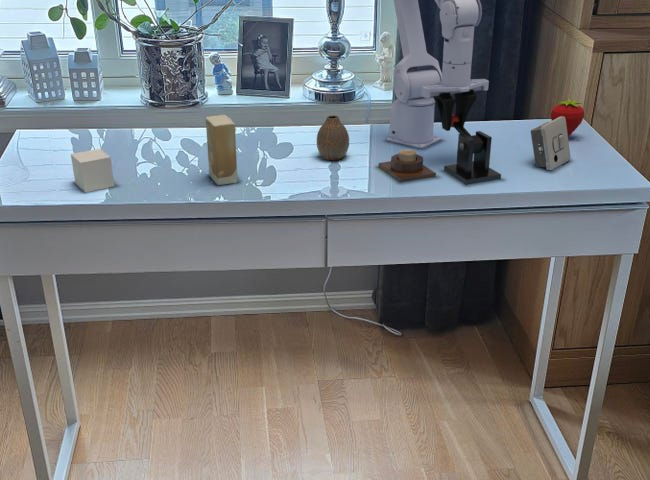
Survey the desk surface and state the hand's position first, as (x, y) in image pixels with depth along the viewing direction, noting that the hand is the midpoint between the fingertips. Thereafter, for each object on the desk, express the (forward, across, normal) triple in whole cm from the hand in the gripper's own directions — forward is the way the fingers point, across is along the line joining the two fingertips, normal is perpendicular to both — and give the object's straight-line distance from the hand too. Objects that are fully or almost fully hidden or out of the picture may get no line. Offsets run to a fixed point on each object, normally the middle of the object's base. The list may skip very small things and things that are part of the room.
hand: (452, 128), depth 186 cm
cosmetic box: (+8, -47, +10) cm, 48 cm away
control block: (+7, -11, -2) cm, 14 cm away
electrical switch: (+7, +18, -9) cm, 22 cm away
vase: (+7, -21, +13) cm, 26 cm away
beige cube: (+8, -71, +17) cm, 74 cm away
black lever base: (+7, 0, -9) cm, 11 cm away
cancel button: (+5, -11, -2) cm, 12 cm away
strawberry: (+7, +32, +4) cm, 33 cm away
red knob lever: (+1, 0, -4) cm, 4 cm away
